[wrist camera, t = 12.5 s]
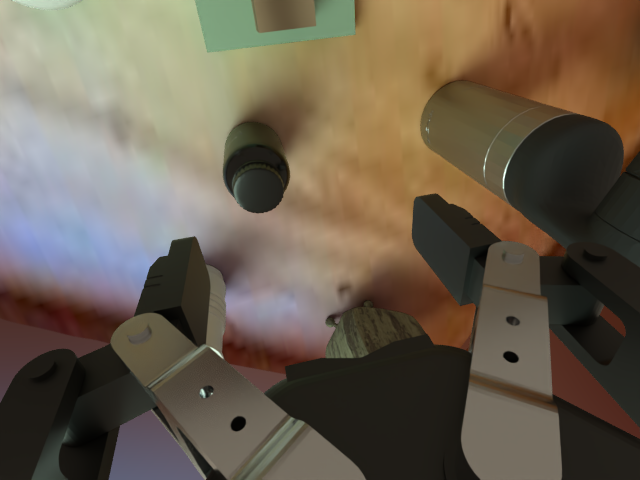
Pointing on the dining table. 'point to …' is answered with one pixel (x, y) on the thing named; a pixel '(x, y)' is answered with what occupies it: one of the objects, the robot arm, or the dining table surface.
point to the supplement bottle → (255, 167)
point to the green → (240, 32)
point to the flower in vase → (48, 4)
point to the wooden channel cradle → (283, 14)
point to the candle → (216, 311)
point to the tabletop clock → (369, 331)
